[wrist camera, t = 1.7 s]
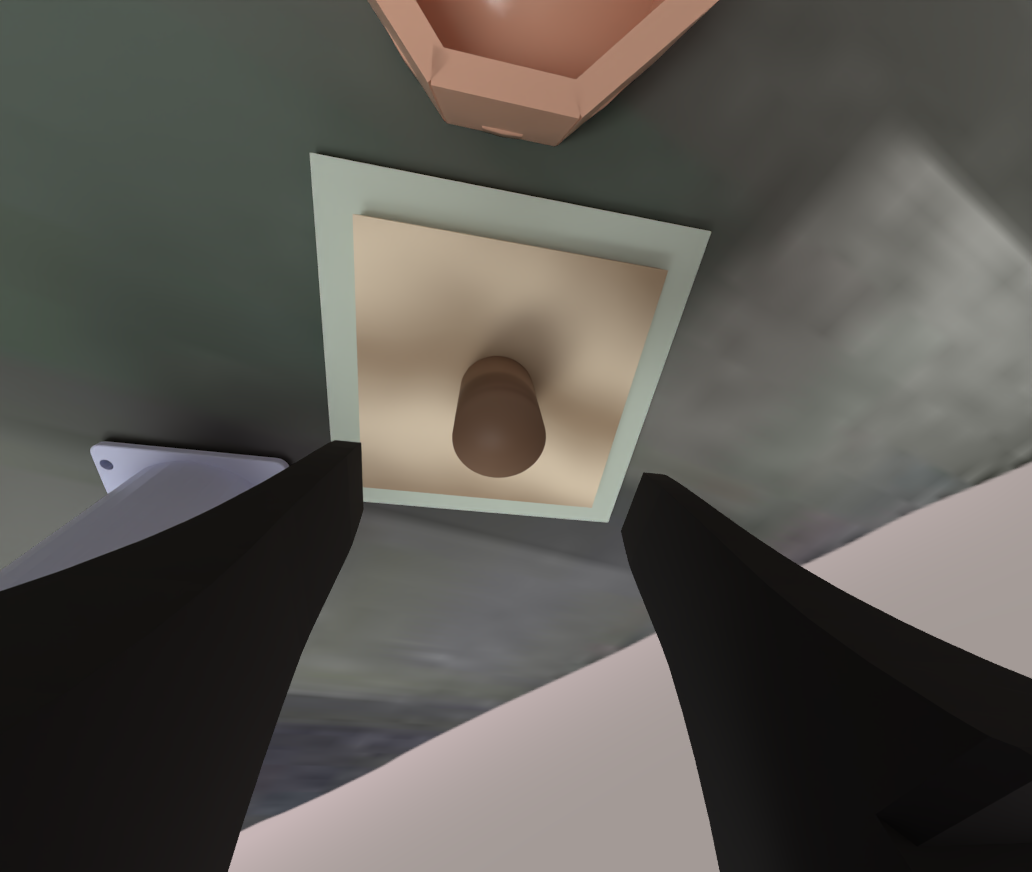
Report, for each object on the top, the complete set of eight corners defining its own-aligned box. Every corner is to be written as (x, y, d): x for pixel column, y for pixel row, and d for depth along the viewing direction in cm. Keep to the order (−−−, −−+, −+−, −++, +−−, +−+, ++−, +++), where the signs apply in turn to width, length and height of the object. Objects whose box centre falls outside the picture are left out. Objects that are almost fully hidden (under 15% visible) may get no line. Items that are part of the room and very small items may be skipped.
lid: (588, 497, 20) (614, 571, 16) (366, 477, 18) (330, 552, 14) (659, 268, 15) (728, 286, 11) (359, 214, 13) (300, 210, 9)
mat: (606, 517, 21) (608, 522, 21) (338, 494, 19) (335, 499, 19) (706, 231, 15) (711, 231, 14) (314, 154, 13) (309, 152, 12)
